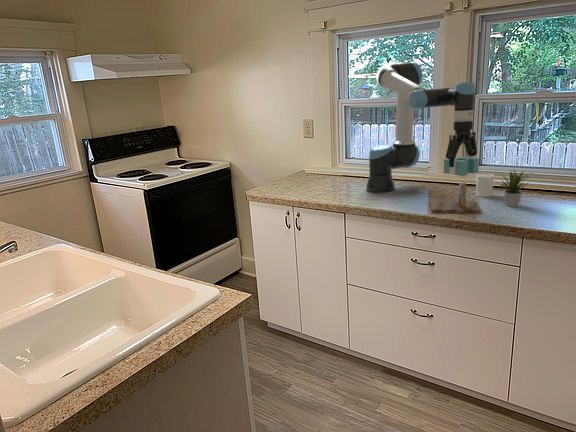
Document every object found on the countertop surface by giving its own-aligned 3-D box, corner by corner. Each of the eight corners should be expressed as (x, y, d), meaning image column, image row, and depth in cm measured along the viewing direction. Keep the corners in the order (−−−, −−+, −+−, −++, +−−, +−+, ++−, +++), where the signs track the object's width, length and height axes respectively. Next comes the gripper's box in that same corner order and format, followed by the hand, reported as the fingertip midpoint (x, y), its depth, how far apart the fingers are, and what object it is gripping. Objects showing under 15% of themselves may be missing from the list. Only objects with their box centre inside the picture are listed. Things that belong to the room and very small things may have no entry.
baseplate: (431, 212, 190) (432, 187, 187) (429, 204, 203) (430, 180, 199) (480, 213, 185) (482, 187, 182) (476, 205, 197) (477, 180, 194)
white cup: (494, 197, 208) (496, 177, 205) (476, 197, 209) (478, 177, 206) (490, 193, 215) (492, 173, 212) (473, 193, 217) (474, 173, 214)
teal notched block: (443, 173, 191) (444, 159, 190) (458, 169, 196) (459, 156, 194) (462, 176, 183) (463, 161, 181) (478, 172, 188) (478, 158, 186)
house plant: (540, 207, 188) (545, 170, 183) (514, 211, 185) (518, 174, 180) (515, 200, 201) (518, 165, 197) (490, 204, 198) (493, 168, 193)
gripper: (452, 123, 175) (450, 177, 181) (488, 118, 185) (485, 169, 192) (437, 122, 181) (435, 175, 187) (473, 118, 192) (470, 167, 198)
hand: (460, 172), depth 189 cm, fingers closed on teal notched block, 10 cm apart
